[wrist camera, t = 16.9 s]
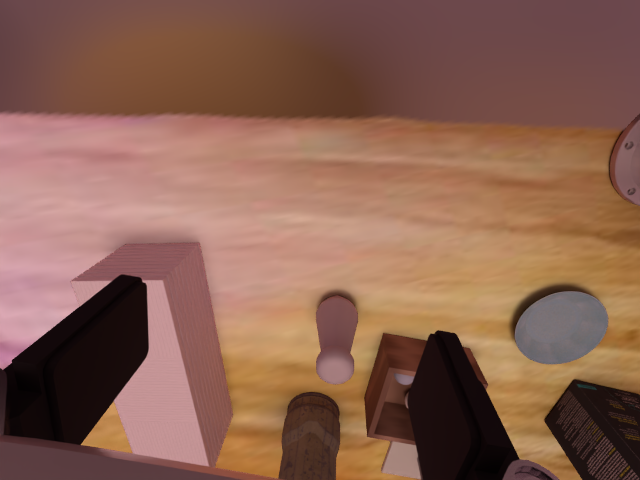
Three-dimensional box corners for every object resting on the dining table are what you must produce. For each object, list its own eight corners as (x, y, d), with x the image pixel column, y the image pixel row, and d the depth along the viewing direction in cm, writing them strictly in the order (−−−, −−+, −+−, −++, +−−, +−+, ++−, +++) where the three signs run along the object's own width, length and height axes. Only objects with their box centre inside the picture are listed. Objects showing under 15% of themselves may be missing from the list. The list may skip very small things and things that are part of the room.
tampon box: (542, 420, 56) (606, 523, 42) (572, 377, 52) (652, 475, 38) (606, 435, 56) (689, 543, 42) (640, 394, 52) (743, 497, 39)
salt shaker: (353, 286, 48) (356, 348, 36) (361, 320, 50) (366, 389, 38) (312, 293, 49) (302, 357, 37) (322, 326, 51) (315, 396, 39)
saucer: (525, 277, 46) (534, 285, 44) (612, 290, 46) (625, 299, 44) (496, 347, 51) (503, 357, 49) (576, 358, 51) (586, 370, 49)
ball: (416, 358, 51) (420, 374, 48) (410, 375, 53) (414, 391, 50) (395, 355, 51) (398, 370, 48) (389, 371, 53) (392, 387, 50)
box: (469, 348, 51) (488, 384, 45) (443, 411, 56) (456, 452, 50) (383, 333, 51) (389, 367, 45) (364, 397, 56) (367, 436, 50)
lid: (483, 424, 57) (503, 470, 50) (456, 478, 63) (471, 527, 56) (400, 410, 57) (408, 454, 50) (380, 465, 63) (385, 512, 56)
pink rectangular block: (126, 243, 48) (70, 281, 38) (200, 242, 47) (162, 280, 38) (173, 412, 60) (140, 474, 50) (233, 413, 60) (211, 476, 50)
